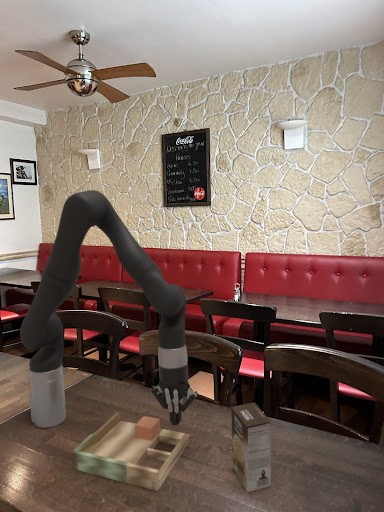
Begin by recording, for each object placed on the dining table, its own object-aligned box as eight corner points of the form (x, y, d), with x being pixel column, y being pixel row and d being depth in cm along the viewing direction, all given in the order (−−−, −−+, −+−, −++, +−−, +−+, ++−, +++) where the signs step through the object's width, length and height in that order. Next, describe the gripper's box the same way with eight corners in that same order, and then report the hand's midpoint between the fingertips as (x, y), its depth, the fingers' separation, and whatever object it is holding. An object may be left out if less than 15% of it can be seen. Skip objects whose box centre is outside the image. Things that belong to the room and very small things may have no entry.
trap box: (74, 469, 96) (73, 450, 95) (117, 426, 114) (116, 410, 114) (157, 491, 88) (156, 470, 87) (189, 441, 106) (189, 423, 105)
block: (135, 437, 105) (134, 425, 105) (144, 427, 110) (143, 416, 109) (151, 440, 103) (151, 428, 103) (160, 430, 108) (159, 419, 108)
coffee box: (231, 467, 95) (230, 405, 93) (254, 462, 97) (254, 401, 95) (246, 493, 86) (246, 426, 84) (272, 486, 88) (272, 420, 86)
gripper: (143, 364, 100) (147, 427, 102) (191, 370, 95) (194, 436, 97) (156, 353, 107) (159, 413, 109) (201, 358, 102) (204, 420, 104)
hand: (176, 423), depth 103 cm, fingers closed
